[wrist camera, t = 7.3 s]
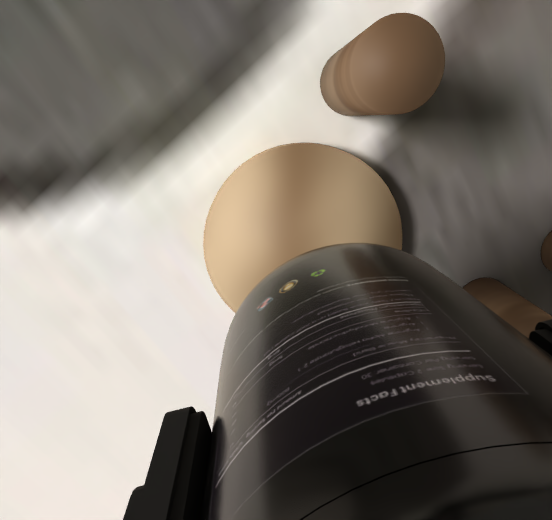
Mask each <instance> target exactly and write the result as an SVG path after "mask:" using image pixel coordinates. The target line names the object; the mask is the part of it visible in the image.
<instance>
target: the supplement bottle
mask: <svg viewBox="0 0 552 520" xmlns="http://www.w3.org/2000/svg"><path fill="white" fill-rule="evenodd" d="M201 520H552V356H551V355H550V354H549V353H547V352H546V351H545V350H543V349H542V348H541V347H539V346H538V345H537V344H535V343H534V342H533V341H531V340H530V339H529V338H527V337H526V336H525V335H524V334H522V333H521V332H520V331H518V330H517V329H516V328H514V327H513V326H512V325H510V324H509V323H508V322H506V321H505V320H504V319H502V318H501V317H500V316H498V315H497V314H496V313H494V312H493V311H492V310H490V309H489V308H488V307H486V306H485V305H484V304H482V303H481V302H480V301H479V300H477V299H476V298H475V297H473V296H472V295H471V294H469V293H468V292H467V291H465V290H464V289H463V288H461V287H460V286H459V285H457V284H456V283H455V282H453V281H452V280H451V279H449V278H448V277H446V276H445V275H444V274H442V273H440V272H439V271H438V270H436V269H435V268H433V267H432V266H431V265H429V264H428V263H426V262H424V261H422V260H421V259H419V258H417V257H415V256H413V255H411V254H409V253H406V252H404V251H402V250H398V249H395V248H392V247H388V246H383V245H379V244H370V243H343V244H335V245H330V246H324V247H321V248H317V249H314V250H311V251H308V252H305V253H303V254H300V255H298V256H296V257H294V258H292V259H290V260H288V261H287V262H285V263H283V264H282V265H280V266H279V267H277V268H276V269H274V270H273V271H272V272H270V273H269V274H268V275H267V276H265V277H264V278H263V279H262V280H261V281H260V282H259V283H258V284H257V285H256V286H255V287H254V288H253V289H252V291H251V292H250V293H249V294H248V295H247V297H246V298H245V299H244V301H243V302H242V304H241V305H240V307H239V309H238V311H237V312H236V314H235V316H234V318H233V321H232V323H231V325H230V328H229V331H228V334H227V337H226V340H225V345H224V350H223V355H222V362H221V367H220V374H219V382H218V390H217V398H216V406H215V414H214V422H213V430H212V437H211V445H210V453H209V461H208V469H207V477H206V485H205V493H204V501H203V509H202V516H201Z"/></svg>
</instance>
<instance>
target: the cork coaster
mask: <svg viewBox="0 0 552 520" xmlns="http://www.w3.org/2000/svg"><path fill="white" fill-rule="evenodd" d="M343 243H370V244H379V245H383V246H388V247H392V248H395V249H398V250H402V224H401V219H400V214H399V210H398V207H397V205H396V202H395V200H394V197H393V196H392V194H391V192H390V190H389V188H388V187H387V185H386V184H385V183H384V181H383V180H382V179H381V177H380V176H379V175H378V174H377V173H376V172H375V171H374V170H373V169H372V168H371V167H370V166H368V165H367V164H366V163H364V162H363V161H362V160H360V159H358V158H357V157H355V156H353V155H351V154H349V153H347V152H345V151H342V150H339V149H337V148H334V147H331V146H326V145H322V144H315V143H291V144H286V145H280V146H277V147H274V148H271V149H268V150H265V151H263V152H261V153H259V154H257V155H255V156H253V157H252V158H250V159H249V160H247V161H246V162H244V163H243V164H242V165H241V166H239V167H238V168H237V169H236V170H235V171H234V172H233V173H232V174H231V175H230V176H229V177H228V179H227V180H226V181H225V182H224V184H223V185H222V187H221V188H220V190H219V191H218V193H217V195H216V197H215V199H214V201H213V203H212V205H211V207H210V210H209V213H208V216H207V219H206V224H205V230H204V243H203V247H204V258H205V262H206V267H207V271H208V273H209V276H210V279H211V281H212V283H213V285H214V287H215V289H216V291H217V292H218V294H219V295H220V297H221V298H222V299H223V301H224V302H225V303H226V304H227V305H228V306H229V307H230V308H231V309H232V310H233V311H234V312H235V313H236V312H237V311H238V309H239V307H240V305H241V304H242V302H243V301H244V299H245V298H246V297H247V295H248V294H249V293H250V292H251V291H252V289H253V288H254V287H255V286H256V285H257V284H258V283H259V282H260V281H261V280H262V279H263V278H264V277H265V276H267V275H268V274H269V273H270V272H272V271H273V270H274V269H276V268H277V267H279V266H280V265H282V264H283V263H285V262H287V261H288V260H290V259H292V258H294V257H296V256H298V255H300V254H303V253H305V252H308V251H311V250H314V249H317V248H321V247H324V246H330V245H335V244H343Z"/></svg>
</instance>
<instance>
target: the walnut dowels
mask: <svg viewBox="0 0 552 520" xmlns="http://www.w3.org/2000/svg"><path fill="white" fill-rule="evenodd" d="M444 67H445V52H444V47H443V44H442V41H441V38H440V36H439V34H438V33H437V31H436V30H435V28H434V27H433V26H432V25H431V24H430V23H429V22H428V21H426V20H425V19H423V18H421V17H419V16H417V15H414V14H410V13H395V14H391V15H388V16H385V17H383V18H381V19H379V20H378V21H376V22H375V23H374V24H372V25H371V26H370V27H368V28H367V29H366V30H365V31H363V32H362V33H361V34H359V35H358V36H357V37H356V38H354V39H353V40H352V41H350V42H349V43H348V44H347V45H345V46H344V47H343V48H342V49H340V50H339V51H338V52H336V53H335V54H334V55H333V56H332V57H331V58H330V59H329V60H328V61H327V63H326V64H325V66H324V68H323V71H322V74H321V79H320V87H321V93H322V96H323V98H324V100H325V102H326V103H327V105H328V106H329V107H330V108H331V109H332V110H334V111H335V112H337V113H339V114H342V115H346V116H358V115H389V114H403V113H407V112H410V111H413V110H415V109H417V108H419V107H420V106H422V105H423V104H424V103H425V102H427V101H428V100H429V99H430V98H431V96H432V95H433V94H434V92H435V91H436V89H437V88H438V86H439V84H440V82H441V79H442V76H443V72H444ZM541 259H542V262H543V264H544V265H545V267H546V268H547V269H548V270H550V271H551V272H552V231H551V232H550V233H549V234H548V235H547V237H546V238H545V240H544V242H543V244H542V248H541ZM463 289H464V290H465V291H467V292H468V293H469V294H471V295H472V296H473V297H475V298H476V299H477V300H479V301H480V302H481V303H482V304H484V305H485V306H486V307H488V308H489V309H490V310H492V311H493V312H494V313H496V314H497V315H498V316H500V317H501V318H502V319H504V320H505V321H506V322H508V323H509V324H510V325H512V326H513V327H514V328H516V329H517V330H518V331H520V332H521V333H522V334H524V335H525V336H526V337H527V338H529V334H530V332H532V331H535V327H536V324H537V323H539V322H542V321H546V320H550V319H552V316H551V315H549V314H548V313H546V312H545V311H543V310H542V309H540V308H539V307H537V306H535V305H534V304H532V303H531V302H529V301H528V300H526V299H525V298H523V297H522V296H520V295H519V294H517V293H516V292H514V291H513V290H511V289H510V288H508V287H507V286H505V285H503V284H502V283H500V282H499V281H497V280H495V279H492V278H479V279H475V280H473V281H471V282H469V283H468V284H466V285H465V286H464V287H463Z"/></svg>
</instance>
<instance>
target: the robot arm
mask: <svg viewBox="0 0 552 520" xmlns="http://www.w3.org/2000/svg"><path fill="white" fill-rule="evenodd" d="M529 339H530V340H531V341H533V342H534V343H535V344H537V345H538V346H539V347H541V348H542V349H543V350H545V351H546V352H547V353H549V354H550V355H551V356H552V319H550V320H546V321H542V322H539V323H537V324H536V327H535V331H532V332H530V334H529ZM211 437H212V432H211V429H210V426H209V423H208V420H207V417H206V415H205V413H204V412H203V411H200V412H196V410H195V409H194V407H192V406H191V407H187V408H183V409H179V410H175V411H171V412H167V413H166V414H165V416H164V419H163V422H162V426H161V429H160V433H159V436H158V439H157V443H156V446H155V450H154V453H153V457H152V460H151V464H150V467H149V470H148V474H147V477H146V481H145V484H144V485H143V486H139V487H137V488H135V489H134V490H133V492H132V495H131V497H130V500H129V503H128V506H127V509H126V512H125V515H124V518H123V520H201V516H202V509H203V501H204V493H205V485H206V477H207V469H208V461H209V453H210V445H211Z"/></svg>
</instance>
